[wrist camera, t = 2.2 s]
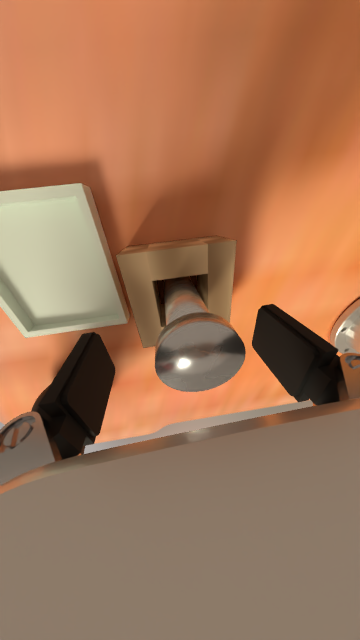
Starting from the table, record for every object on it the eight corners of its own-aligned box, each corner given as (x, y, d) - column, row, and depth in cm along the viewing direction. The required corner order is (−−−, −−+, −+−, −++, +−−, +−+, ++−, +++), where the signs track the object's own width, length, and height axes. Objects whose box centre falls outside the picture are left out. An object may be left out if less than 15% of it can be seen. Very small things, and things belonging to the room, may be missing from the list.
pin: (195, 260, 17) (251, 318, 7) (197, 299, 20) (240, 384, 9) (153, 266, 17) (145, 334, 7) (160, 304, 19) (162, 397, 9)
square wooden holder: (216, 235, 16) (236, 240, 12) (214, 312, 21) (228, 335, 17) (127, 246, 16) (115, 255, 12) (146, 322, 21) (143, 347, 16)
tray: (90, 187, 13) (81, 182, 12) (129, 315, 20) (127, 323, 18) (-55, 202, 13) (-85, 200, 11) (35, 328, 19) (25, 337, 18)
